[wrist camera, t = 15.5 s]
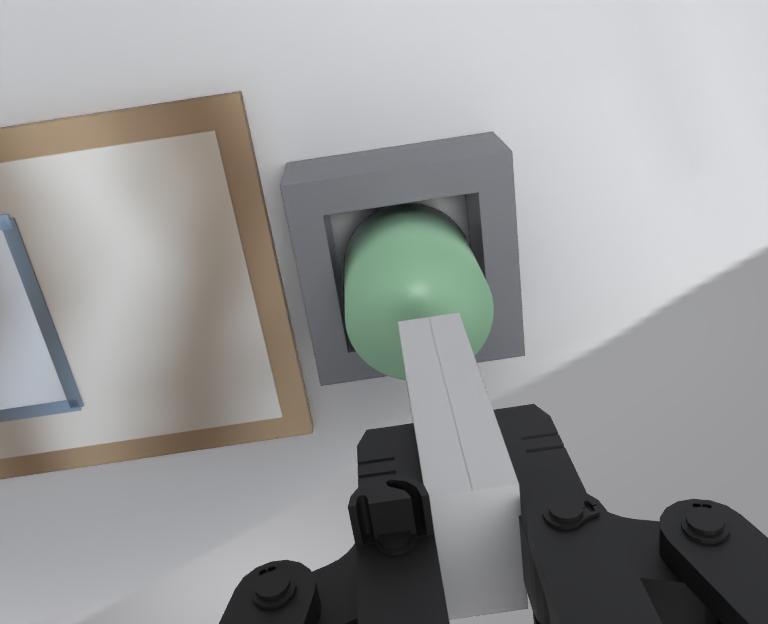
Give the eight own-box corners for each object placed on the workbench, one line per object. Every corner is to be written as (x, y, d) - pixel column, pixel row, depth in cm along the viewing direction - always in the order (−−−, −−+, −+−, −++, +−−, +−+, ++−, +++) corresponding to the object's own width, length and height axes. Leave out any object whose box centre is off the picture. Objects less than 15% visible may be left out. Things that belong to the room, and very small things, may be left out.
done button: (354, 330, 25) (357, 390, 21) (334, 213, 23) (333, 257, 19) (475, 312, 25) (498, 369, 21) (464, 194, 23) (487, 234, 19)
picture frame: (-181, 498, 29) (-193, 511, 28) (-369, 183, 23) (-388, 189, 23) (313, 426, 29) (312, 436, 28) (241, 91, 23) (238, 94, 23)
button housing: (323, 345, 27) (320, 385, 25) (286, 162, 24) (279, 186, 22) (506, 318, 27) (525, 355, 24) (493, 131, 24) (512, 150, 22)
